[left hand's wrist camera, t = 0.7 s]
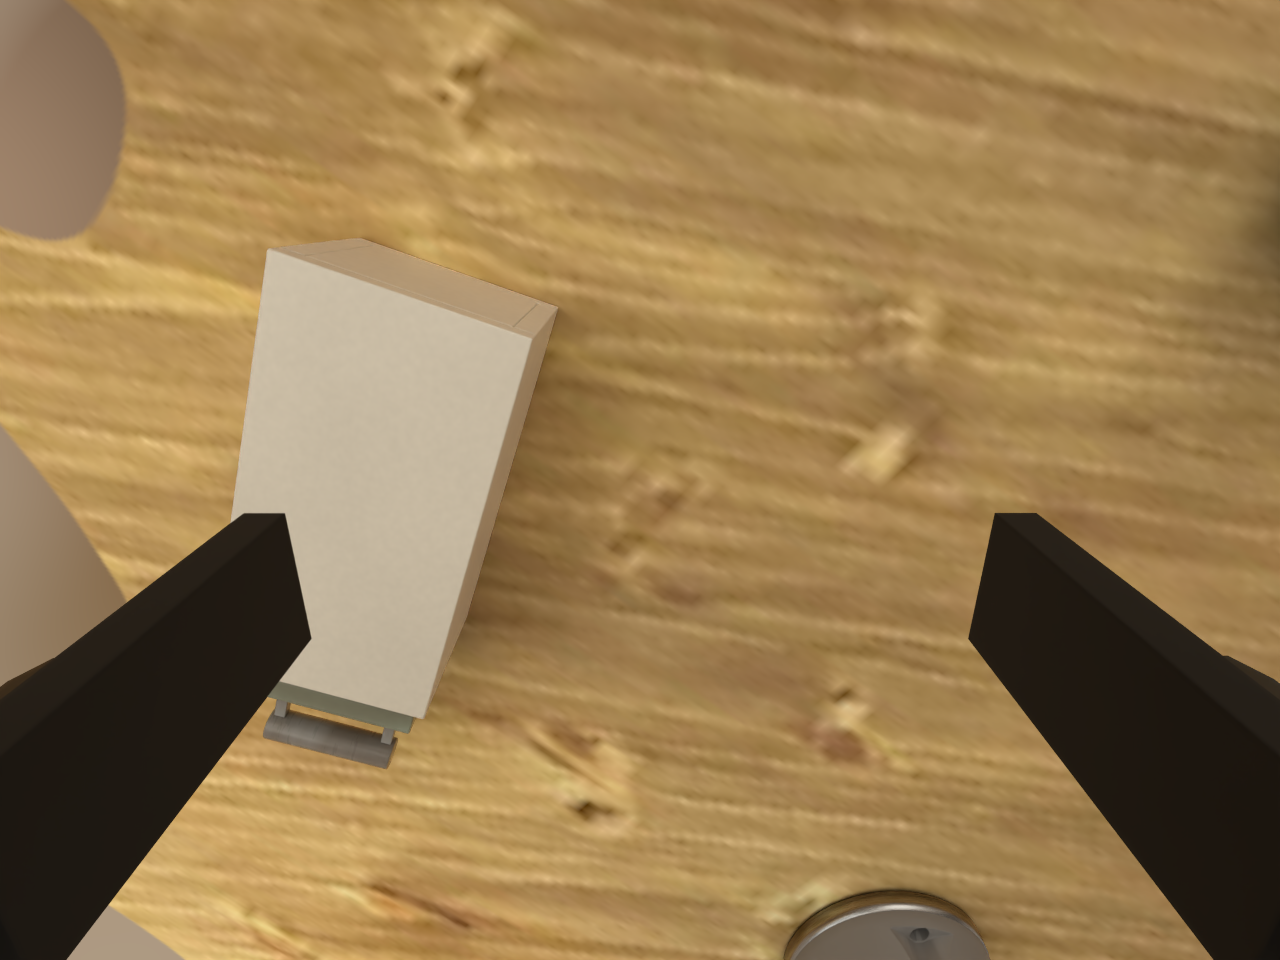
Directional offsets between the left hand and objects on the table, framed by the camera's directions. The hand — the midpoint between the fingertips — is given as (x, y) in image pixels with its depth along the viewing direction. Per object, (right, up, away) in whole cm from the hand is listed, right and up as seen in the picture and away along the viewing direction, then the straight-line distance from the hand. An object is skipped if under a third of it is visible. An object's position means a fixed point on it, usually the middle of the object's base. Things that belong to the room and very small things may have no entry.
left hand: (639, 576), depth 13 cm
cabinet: (-12, +4, +24) cm, 27 cm away
